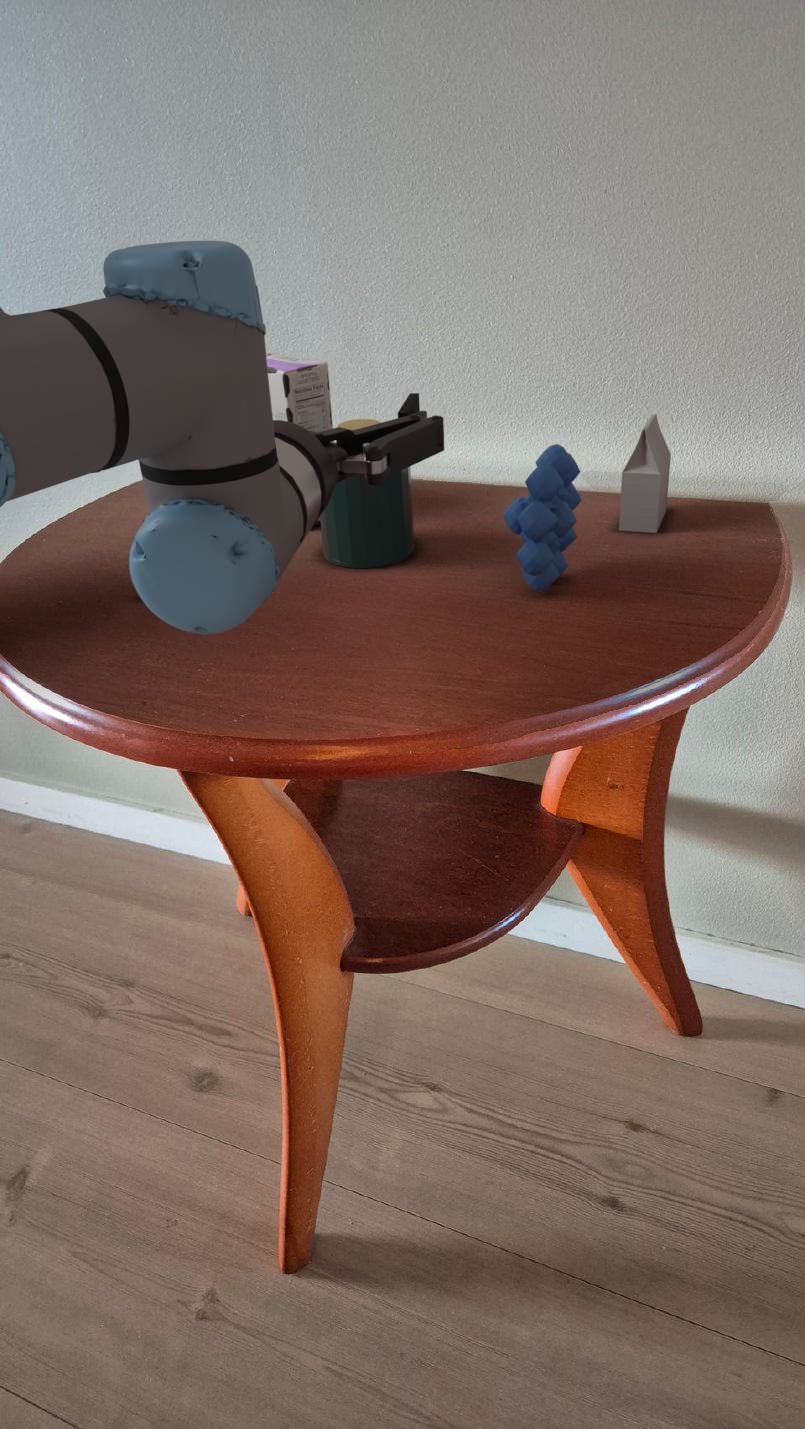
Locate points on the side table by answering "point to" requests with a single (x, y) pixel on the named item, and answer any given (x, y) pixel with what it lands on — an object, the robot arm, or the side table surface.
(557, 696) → the side table surface
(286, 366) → the candy box
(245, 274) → the robot arm
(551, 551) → the grapes
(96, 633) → the side table surface
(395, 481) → the dark green cup
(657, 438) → the grey milk carton
